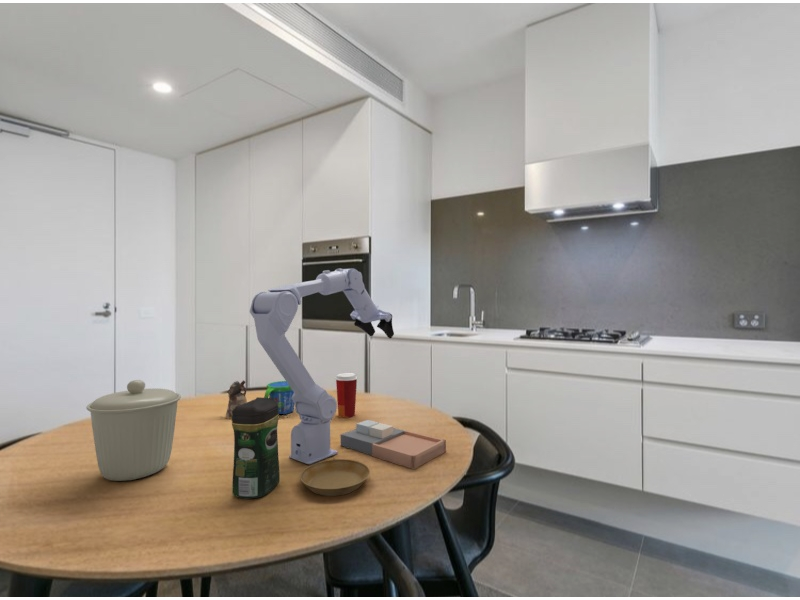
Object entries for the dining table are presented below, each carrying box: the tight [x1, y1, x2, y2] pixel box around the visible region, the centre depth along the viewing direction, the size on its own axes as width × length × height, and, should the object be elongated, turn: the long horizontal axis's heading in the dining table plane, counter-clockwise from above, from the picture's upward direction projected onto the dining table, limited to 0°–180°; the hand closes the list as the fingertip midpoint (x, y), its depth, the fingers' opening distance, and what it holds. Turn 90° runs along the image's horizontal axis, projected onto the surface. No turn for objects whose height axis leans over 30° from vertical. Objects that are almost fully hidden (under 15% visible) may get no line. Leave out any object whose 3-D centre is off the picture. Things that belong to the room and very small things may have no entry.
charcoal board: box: [340, 427, 405, 456], centre depth 110 cm, size 13×12×3 cm
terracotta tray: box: [371, 429, 447, 470], centre depth 102 cm, size 14×13×3 cm
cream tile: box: [370, 422, 394, 439], centre depth 108 cm, size 4×4×2 cm
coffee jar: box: [231, 396, 281, 500], centre depth 83 cm, size 10×8×19 cm
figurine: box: [225, 380, 248, 419], centre depth 138 cm, size 7×7×12 cm
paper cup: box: [334, 372, 359, 419], centre depth 138 cm, size 8×8×14 cm
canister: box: [85, 379, 182, 482], centre depth 92 cm, size 18×18×21 cm
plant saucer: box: [299, 458, 371, 497], centre depth 86 cm, size 15×15×3 cm
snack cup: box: [263, 380, 295, 415], centre depth 142 cm, size 16×10×10 cm
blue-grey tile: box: [355, 419, 380, 435], centre depth 111 cm, size 4×4×2 cm
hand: (382, 335), depth 124 cm, fingers open, 7 cm apart
